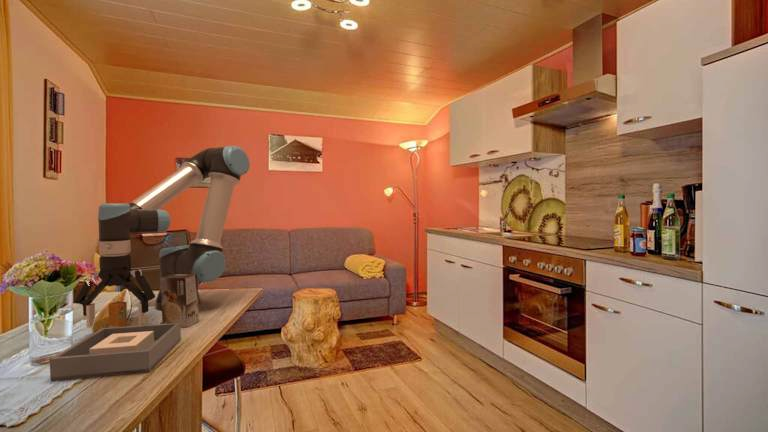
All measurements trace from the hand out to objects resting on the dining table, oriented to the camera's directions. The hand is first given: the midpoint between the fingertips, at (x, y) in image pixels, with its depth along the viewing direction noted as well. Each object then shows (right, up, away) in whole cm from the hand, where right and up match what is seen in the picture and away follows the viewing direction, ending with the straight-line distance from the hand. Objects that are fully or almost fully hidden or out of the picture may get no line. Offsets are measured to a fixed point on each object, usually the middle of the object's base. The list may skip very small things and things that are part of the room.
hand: (116, 324), depth 106 cm
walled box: (+13, -4, -15) cm, 21 cm away
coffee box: (+13, -3, +10) cm, 17 cm away
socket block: (+13, -4, -15) cm, 21 cm away
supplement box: (0, -3, 0) cm, 4 cm away
